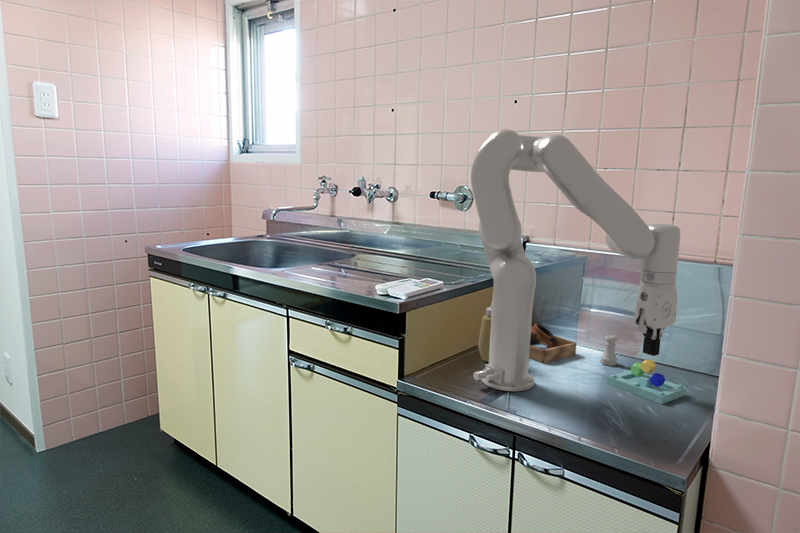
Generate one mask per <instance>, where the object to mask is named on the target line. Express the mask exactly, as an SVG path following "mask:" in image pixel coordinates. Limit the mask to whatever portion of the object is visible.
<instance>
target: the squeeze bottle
mask: <svg viewBox="0 0 800 533" xmlns="http://www.w3.org/2000/svg"><path fill="white" fill-rule="evenodd" d="M491 309H492V302H491V303H490V306H488V307H486V308H485V315H483V316H482V318H481V325H480V329H479V330H480V331H479V336H478V343H477V347H478V348H477V349H478V352H479V355H480V358H481V360H482V361H484V362H486V363H487V362H488V363H489V350H490V331H491Z"/></svg>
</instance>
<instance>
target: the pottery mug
mask: <svg viewBox="0 0 800 533" xmlns="http://www.w3.org/2000/svg"><path fill="white" fill-rule="evenodd" d="M535 335H537V337H538V338H540V339H541V340H543V341H545V342H546V343H548V346H547V347H546V349H549V348H553V341H554V340H555V337H554V336H555V335H554V334H553V333H552V332H551V330H549V329H548V328H546V327H545V326H543V325H541V324H539V323H534V324H533V326H532V325H531V338H530V345H532V344H533V342H535V341H534V340H535Z"/></svg>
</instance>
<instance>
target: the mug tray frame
mask: <svg viewBox="0 0 800 533" xmlns="http://www.w3.org/2000/svg"><path fill="white" fill-rule="evenodd" d="M554 337H555V340H554V341H553V348H549V349H547V348H545V349H542V348H540V347H537V346H534V345H532V344H531V345H530V353H529V360H532V361H535V362H538V363H540V364H543V363H544V364H547V363H550V362H554V361H555V362H556V361H558V360H562V359H565V358H570V357H574V356H576V353H577V342H574V341H572V340H569V339H566V338H563V337H560V336H556V335H554ZM533 342H534V343H535V342H536V343H538V344H540V345H541V344H542V345H544V346H547V347H548V343H546V342H545V341H543V340H541V339H540V338H538V337H537V335H535V340H534V341H533Z"/></svg>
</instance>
